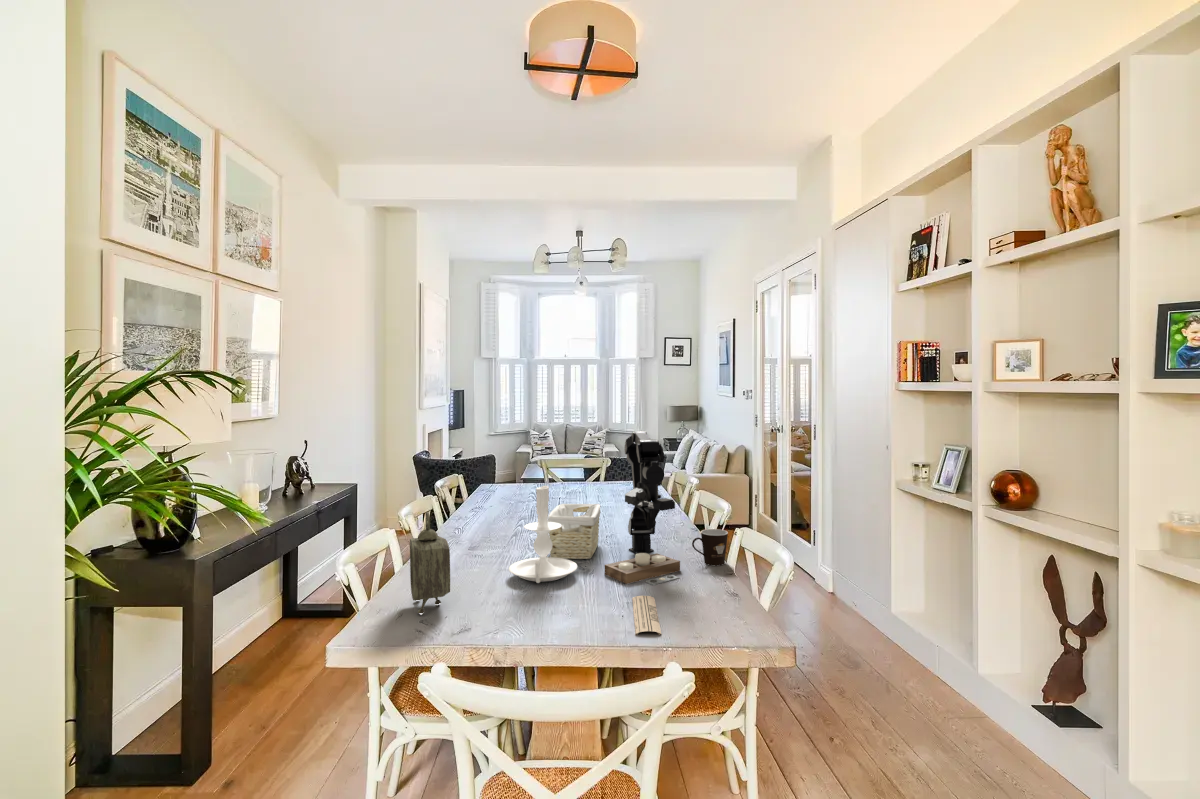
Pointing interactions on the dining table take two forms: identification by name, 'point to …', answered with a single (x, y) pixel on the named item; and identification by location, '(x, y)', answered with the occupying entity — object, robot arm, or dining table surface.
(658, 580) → the card
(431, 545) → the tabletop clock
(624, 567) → the button
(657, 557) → the button
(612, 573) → the wooden compartment tray
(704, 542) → the coffee mug
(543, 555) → the candlestick
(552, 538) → the storage basket
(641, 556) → the button
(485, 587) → the dining table surface
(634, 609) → the newspaper
